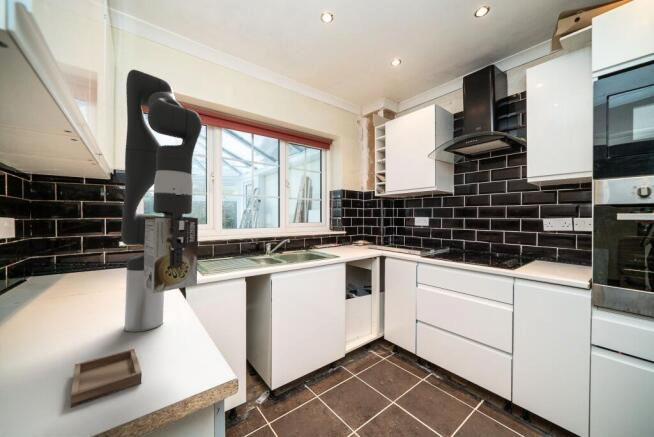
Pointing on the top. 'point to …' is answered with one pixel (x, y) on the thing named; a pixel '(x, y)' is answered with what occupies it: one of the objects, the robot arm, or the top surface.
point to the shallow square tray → (105, 376)
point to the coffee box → (168, 256)
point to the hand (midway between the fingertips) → (171, 264)
